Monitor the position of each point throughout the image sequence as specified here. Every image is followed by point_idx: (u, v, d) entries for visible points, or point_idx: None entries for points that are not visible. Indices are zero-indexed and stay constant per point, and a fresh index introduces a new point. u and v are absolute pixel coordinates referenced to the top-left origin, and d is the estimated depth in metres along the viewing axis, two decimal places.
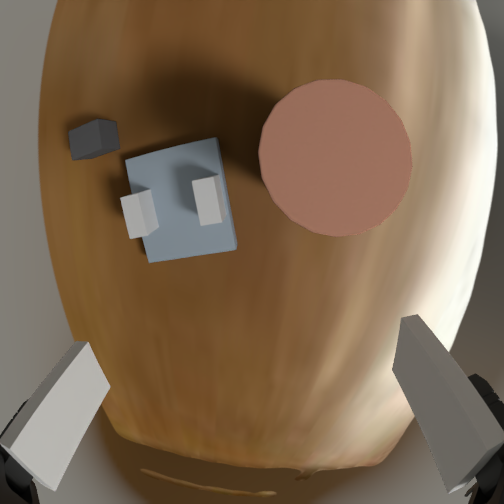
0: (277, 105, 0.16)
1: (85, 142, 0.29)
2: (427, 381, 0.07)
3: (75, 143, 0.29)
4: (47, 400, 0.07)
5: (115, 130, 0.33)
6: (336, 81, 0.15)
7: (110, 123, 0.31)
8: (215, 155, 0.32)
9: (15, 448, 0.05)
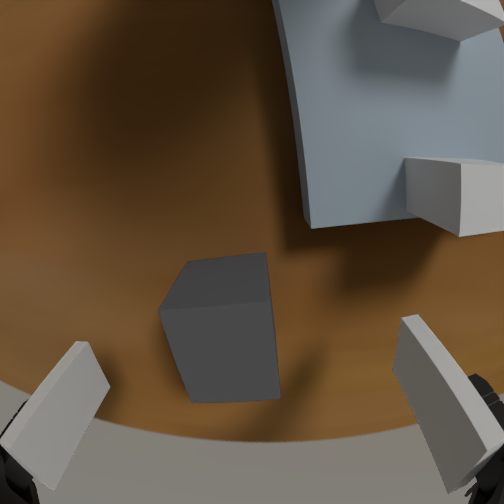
0: None
1: (235, 358, 0.10)
2: (427, 380, 0.07)
3: (231, 386, 0.11)
4: (47, 400, 0.07)
5: (211, 261, 0.14)
6: None
7: (187, 273, 0.13)
8: None
9: (15, 448, 0.05)
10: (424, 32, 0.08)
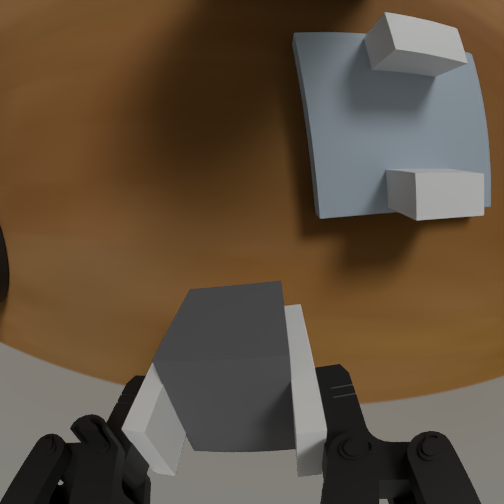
0: None
1: (246, 412, 0.08)
2: None
3: (239, 438, 0.09)
4: None
5: (216, 292, 0.12)
6: None
7: (188, 308, 0.11)
8: (329, 37, 0.13)
9: (148, 430, 0.06)
10: (404, 73, 0.14)
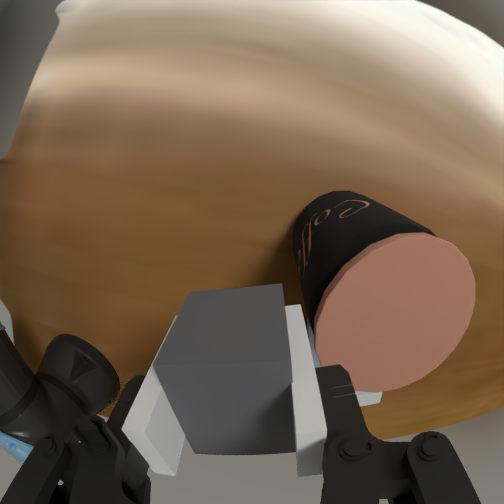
0: None
1: (246, 416, 0.08)
2: None
3: (240, 441, 0.09)
4: None
5: (217, 295, 0.12)
6: (318, 331, 0.14)
7: (189, 311, 0.11)
8: None
9: (148, 430, 0.06)
10: None
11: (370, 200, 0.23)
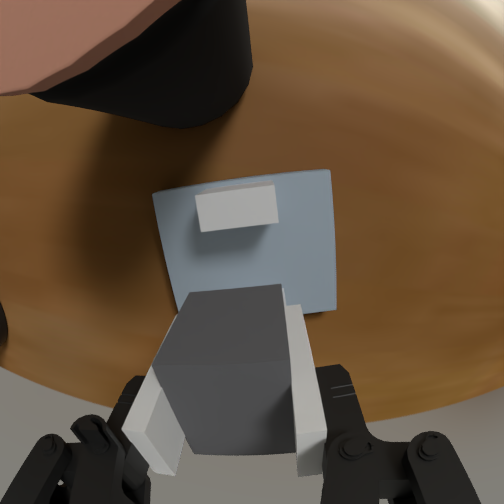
0: None
1: (246, 417, 0.08)
2: None
3: (239, 441, 0.09)
4: None
5: (216, 295, 0.12)
6: None
7: (188, 311, 0.11)
8: (177, 194, 0.22)
9: (149, 430, 0.06)
10: None
11: None
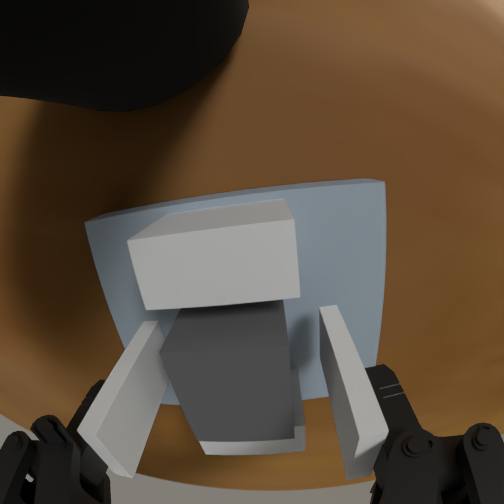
0: None
1: (247, 402, 0.09)
2: (332, 366, 0.09)
3: (241, 427, 0.09)
4: (128, 379, 0.08)
5: None
6: None
7: None
8: (121, 223, 0.12)
9: (101, 434, 0.06)
10: None
11: None
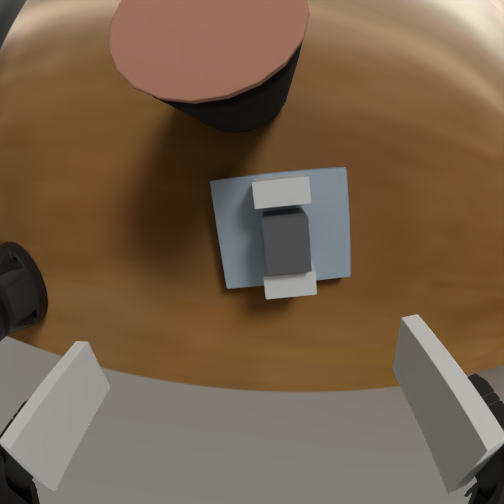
0: (134, 84, 0.11)
1: (292, 245, 0.25)
2: (427, 380, 0.07)
3: (289, 263, 0.26)
4: (47, 400, 0.07)
5: (276, 211, 0.29)
6: (112, 30, 0.10)
7: (266, 214, 0.28)
8: (231, 182, 0.28)
9: (15, 448, 0.05)
10: None
11: None
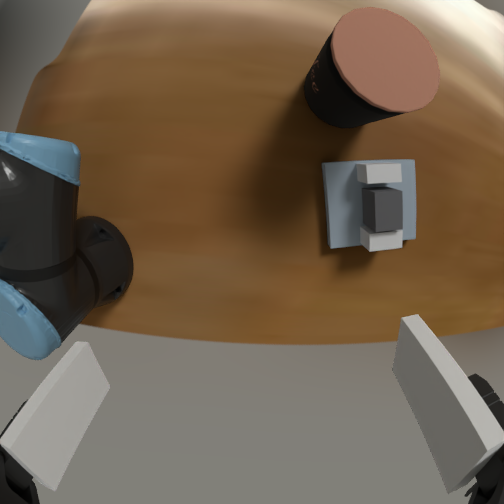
0: (359, 90, 0.19)
1: (392, 210, 0.33)
2: (427, 380, 0.07)
3: (389, 222, 0.33)
4: (47, 400, 0.07)
5: (371, 187, 0.36)
6: (335, 46, 0.18)
7: (368, 189, 0.35)
8: (340, 165, 0.36)
9: (15, 448, 0.05)
10: None
11: None
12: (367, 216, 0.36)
